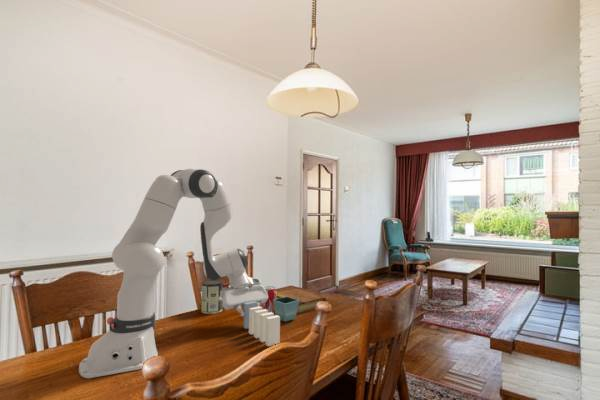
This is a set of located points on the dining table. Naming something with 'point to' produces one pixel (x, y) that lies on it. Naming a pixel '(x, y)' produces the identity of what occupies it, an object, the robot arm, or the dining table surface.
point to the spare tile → (246, 308)
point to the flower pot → (286, 308)
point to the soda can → (270, 299)
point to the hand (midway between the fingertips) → (251, 314)
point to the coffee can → (212, 296)
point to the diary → (302, 299)
